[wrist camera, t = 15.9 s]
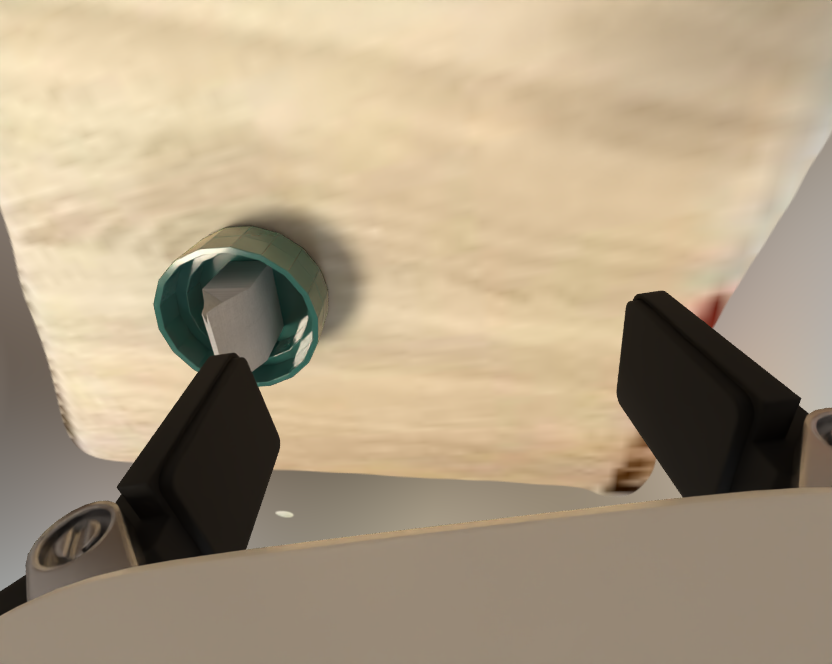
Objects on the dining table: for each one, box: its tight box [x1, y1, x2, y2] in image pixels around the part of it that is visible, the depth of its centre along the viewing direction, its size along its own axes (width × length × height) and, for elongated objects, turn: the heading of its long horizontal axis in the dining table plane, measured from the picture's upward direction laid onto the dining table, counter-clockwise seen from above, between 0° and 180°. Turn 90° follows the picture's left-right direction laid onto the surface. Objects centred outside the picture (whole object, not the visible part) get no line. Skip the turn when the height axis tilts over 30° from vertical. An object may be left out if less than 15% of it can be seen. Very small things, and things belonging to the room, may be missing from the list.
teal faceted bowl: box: [154, 226, 328, 387], centre depth 38 cm, size 13×13×6 cm
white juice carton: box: [202, 261, 284, 371], centre depth 35 cm, size 4×7×10 cm, turn 1°
